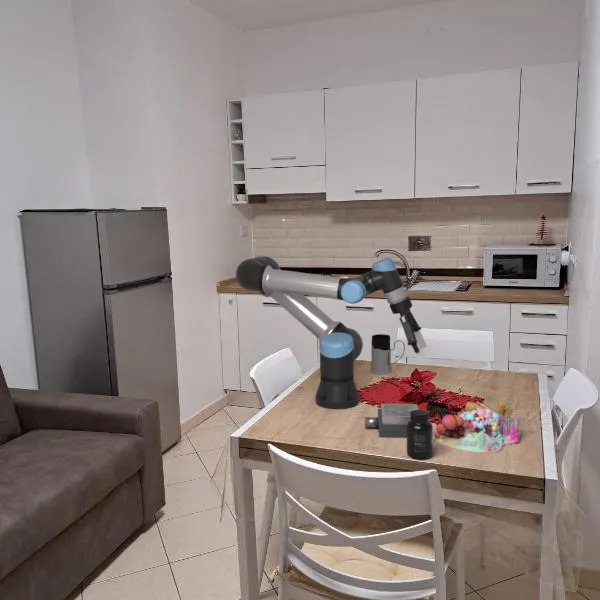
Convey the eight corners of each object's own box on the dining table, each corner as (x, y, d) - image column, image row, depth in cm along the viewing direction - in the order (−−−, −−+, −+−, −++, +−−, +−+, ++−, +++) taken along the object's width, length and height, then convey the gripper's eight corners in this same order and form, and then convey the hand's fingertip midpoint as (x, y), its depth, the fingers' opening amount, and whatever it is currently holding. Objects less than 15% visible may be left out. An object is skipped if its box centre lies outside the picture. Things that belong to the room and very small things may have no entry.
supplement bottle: (437, 454, 150) (437, 411, 148) (424, 462, 145) (424, 419, 144) (415, 447, 155) (415, 406, 153) (401, 455, 150) (401, 413, 148)
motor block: (365, 436, 163) (365, 417, 162) (365, 420, 176) (364, 402, 175) (424, 438, 161) (424, 418, 160) (419, 421, 174) (419, 403, 173)
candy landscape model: (441, 417, 178) (441, 390, 176) (520, 426, 169) (521, 397, 168) (429, 448, 155) (429, 417, 153) (520, 460, 146) (521, 427, 145)
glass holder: (373, 368, 235) (373, 333, 233) (407, 370, 229) (407, 335, 227) (367, 373, 227) (367, 337, 225) (402, 376, 221) (402, 340, 219)
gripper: (405, 304, 183) (431, 361, 186) (411, 288, 207) (433, 339, 209) (384, 312, 186) (410, 368, 188) (392, 296, 209) (414, 346, 211)
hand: (422, 353), depth 198 cm, fingers open, 13 cm apart
